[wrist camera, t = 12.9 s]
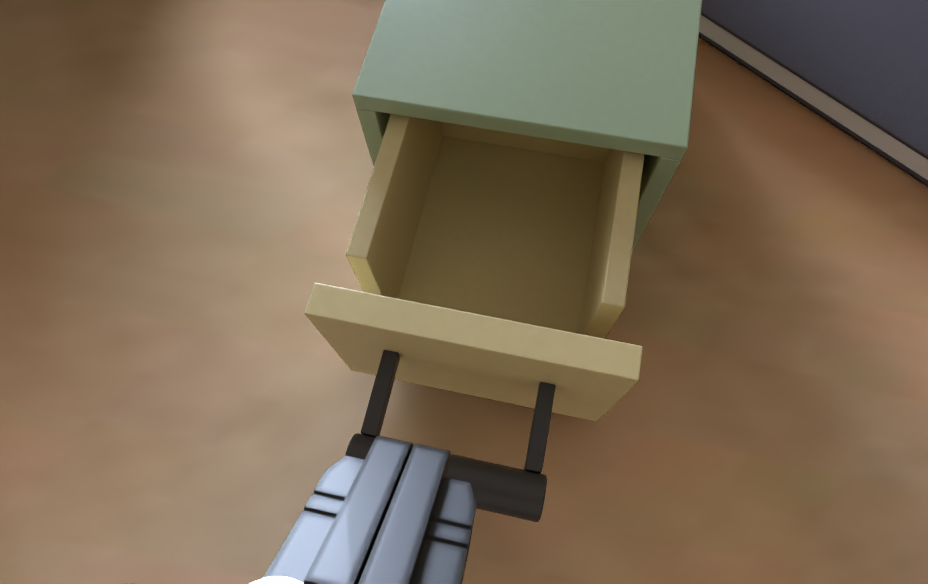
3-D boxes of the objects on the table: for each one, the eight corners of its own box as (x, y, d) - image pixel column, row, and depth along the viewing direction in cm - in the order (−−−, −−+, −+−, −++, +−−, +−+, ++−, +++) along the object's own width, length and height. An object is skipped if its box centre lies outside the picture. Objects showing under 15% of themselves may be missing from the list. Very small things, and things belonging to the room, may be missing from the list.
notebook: (1076, 67, 34) (758, -108, 40) (1102, 45, 32) (769, -132, 38) (960, 208, 31) (636, -4, 37) (983, 192, 29) (642, -26, 35)
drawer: (581, 536, 25) (621, 538, 18) (320, 475, 26) (256, 454, 19) (631, 167, 31) (675, 57, 24) (420, 132, 33) (401, 18, 25)
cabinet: (628, 260, 30) (688, 148, 21) (388, 217, 32) (351, 95, 23) (656, 41, 36) (714, -123, 27) (449, 12, 37) (438, -154, 28)
